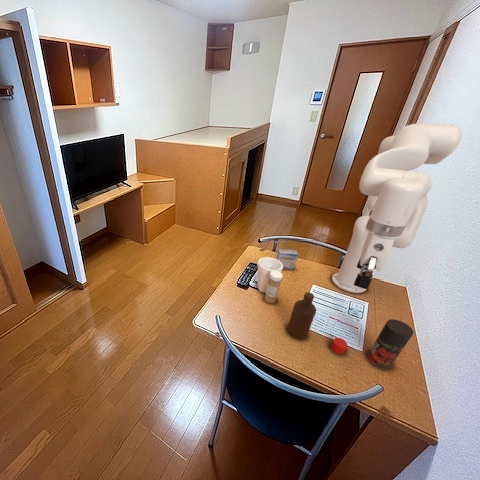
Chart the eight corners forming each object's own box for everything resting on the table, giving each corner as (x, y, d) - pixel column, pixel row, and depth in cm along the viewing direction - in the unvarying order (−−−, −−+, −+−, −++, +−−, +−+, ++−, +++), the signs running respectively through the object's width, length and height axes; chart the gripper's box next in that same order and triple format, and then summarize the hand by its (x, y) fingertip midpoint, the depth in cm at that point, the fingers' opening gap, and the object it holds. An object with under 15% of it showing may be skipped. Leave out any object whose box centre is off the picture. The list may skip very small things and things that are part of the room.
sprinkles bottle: (278, 300, 105) (285, 274, 98) (271, 305, 103) (277, 279, 96) (268, 294, 108) (274, 268, 101) (261, 298, 106) (267, 272, 99)
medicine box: (276, 268, 122) (280, 253, 118) (274, 263, 126) (278, 248, 122) (294, 269, 121) (298, 254, 117) (291, 264, 125) (295, 249, 120)
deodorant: (362, 352, 84) (381, 320, 76) (380, 350, 84) (400, 318, 76) (377, 369, 78) (399, 337, 71) (396, 367, 79) (419, 334, 71)
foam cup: (252, 292, 109) (257, 267, 103) (254, 279, 117) (259, 255, 110) (276, 298, 106) (283, 272, 99) (277, 284, 113) (283, 259, 107)
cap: (333, 353, 84) (336, 346, 82) (328, 343, 87) (331, 336, 85) (346, 354, 83) (349, 348, 81) (341, 344, 86) (344, 338, 85)
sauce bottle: (295, 322, 95) (307, 286, 86) (311, 335, 90) (325, 298, 81) (282, 328, 93) (293, 292, 84) (298, 342, 88) (311, 304, 79)
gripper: (405, 245, 60) (376, 300, 68) (402, 217, 71) (378, 266, 80) (365, 236, 64) (342, 289, 72) (368, 211, 75) (349, 259, 84)
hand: (361, 277), depth 76 cm, fingers open, 9 cm apart
